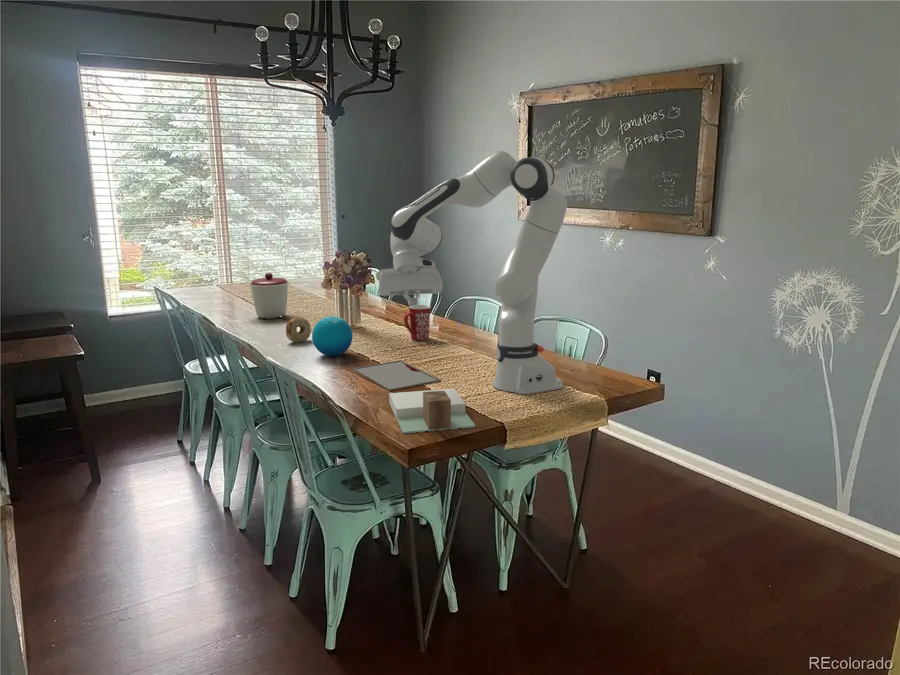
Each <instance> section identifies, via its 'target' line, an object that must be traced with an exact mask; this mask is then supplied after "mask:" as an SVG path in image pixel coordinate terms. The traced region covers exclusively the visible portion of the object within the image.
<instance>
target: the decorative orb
mask: <svg viewBox="0 0 900 675" xmlns="http://www.w3.org/2000/svg"><path fill="white" fill-rule="evenodd" d="M311 340H312V343H313V345H314V346H313V347H314V348H315V349H316V350H317V351H318V352H319V353H320V354H322V355H324V356H327V357H337V356H340V355H342V354H343V355H344V353H345V352H347V351H348V350H349V348H351V345H352V343H353V330H352V328H351V326H350V324H349V323H348V322H347V321H346V320H345V319H343V318H342V317H338V316H336V315H335V316H332V315H331V316H325V317H323V318H322V319H320V320H318V321H317V323H315V326H314V327H313V329H312V331H311Z"/></svg>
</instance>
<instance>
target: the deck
mask: <svg viewBox="0 0 900 675" xmlns="http://www.w3.org/2000/svg"><path fill="white" fill-rule="evenodd" d="M431 391H445V392H446V394H447V395H448V397H449V398H450V400H451V414H460V413H466V402H465V401H464V400H463V398H462V396H460V395H459V393H458V392H457V390H456V389H455V388H445V389H443V388H442V389H429V390H427V389H426V390H415V391H405V392H404V391H403V392H390V393H388V398H389V400H388V403H389V405H390V407H391V410H392V411H393V414H394V417H395V419H396V420H397V419H400V418H412V417H423V392H431Z"/></svg>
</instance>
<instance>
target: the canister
mask: <svg viewBox="0 0 900 675" xmlns="http://www.w3.org/2000/svg"><path fill="white" fill-rule="evenodd" d="M288 284H290V281H289V280H287V279H286V278H282V277H274V276H273V273H271V272H266V273H265V274H264V277H262V278H255V279H253V280H252V281H251V282H248V285H249V286H250V289H251V294H252V300H253V306H254V310H255V314H256V316H257V317H258V318H259V317H262V318H261V319H263V318H276V317H280V316H283V315H284V316H285V315H286V314H287V305H288V292H289V291H288V290H289V289H288V288H289V285H288ZM284 316H283V317H284ZM280 318H281V317H280ZM276 319H277V318H276Z"/></svg>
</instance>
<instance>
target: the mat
mask: <svg viewBox="0 0 900 675" xmlns="http://www.w3.org/2000/svg"><path fill="white" fill-rule="evenodd" d="M396 421H397V424H398V426H399V427H400V431H401V433H402V434H405V435H406V434H414V433H416V432H417V433H426V432H425V431H428V432H436V431H435V430H439V431H446V430H445V429H451V430H459V429H458V428H462V429H471V428H476V424H475V423H474V421H473V420H472V418H470V416H469V415H468V413H467V412H465V413H460V414H451V428H444V429H433V430H429V429H428V427H427V425H426V423H425V422H424V420H423V417H412V418H400V419H396Z"/></svg>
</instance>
